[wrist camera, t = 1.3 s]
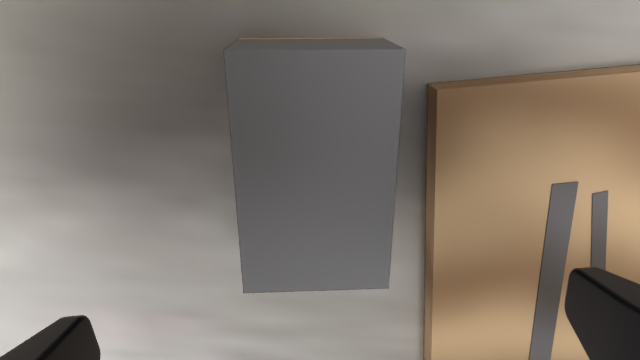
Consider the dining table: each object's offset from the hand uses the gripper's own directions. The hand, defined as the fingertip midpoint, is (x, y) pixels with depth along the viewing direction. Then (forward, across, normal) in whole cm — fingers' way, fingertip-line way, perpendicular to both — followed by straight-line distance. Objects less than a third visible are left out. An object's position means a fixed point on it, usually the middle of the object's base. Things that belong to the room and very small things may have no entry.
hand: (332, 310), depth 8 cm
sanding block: (+10, 0, 0) cm, 10 cm away
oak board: (+10, -10, +7) cm, 15 cm away
